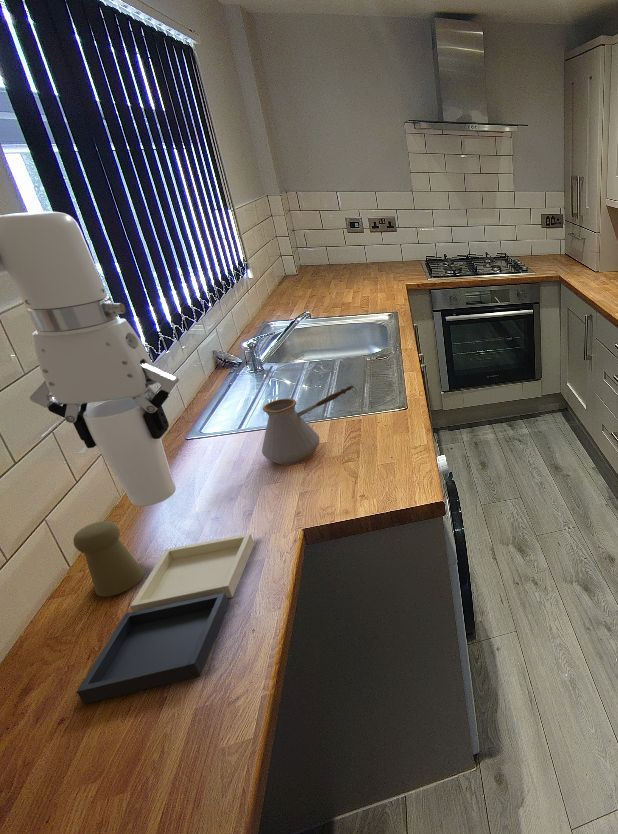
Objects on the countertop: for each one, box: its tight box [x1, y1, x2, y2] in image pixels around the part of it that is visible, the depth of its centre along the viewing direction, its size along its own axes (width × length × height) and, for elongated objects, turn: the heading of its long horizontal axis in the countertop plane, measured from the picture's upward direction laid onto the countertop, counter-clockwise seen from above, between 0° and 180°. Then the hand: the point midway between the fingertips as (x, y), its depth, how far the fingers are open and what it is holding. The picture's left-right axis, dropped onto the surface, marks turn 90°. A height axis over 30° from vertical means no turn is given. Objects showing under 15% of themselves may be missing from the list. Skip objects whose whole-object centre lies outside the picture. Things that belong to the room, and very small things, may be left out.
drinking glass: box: [83, 398, 177, 508], centre depth 74 cm, size 7×7×15 cm
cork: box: [72, 520, 145, 598], centre depth 82 cm, size 6×6×11 cm
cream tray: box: [129, 533, 255, 612], centre depth 85 cm, size 13×13×2 cm
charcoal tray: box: [76, 593, 230, 705], centre depth 72 cm, size 13×13×2 cm
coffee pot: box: [261, 385, 358, 465], centre depth 117 cm, size 21×12×15 cm, turn 110°
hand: (128, 437), depth 73 cm, fingers closed on drinking glass, 6 cm apart
